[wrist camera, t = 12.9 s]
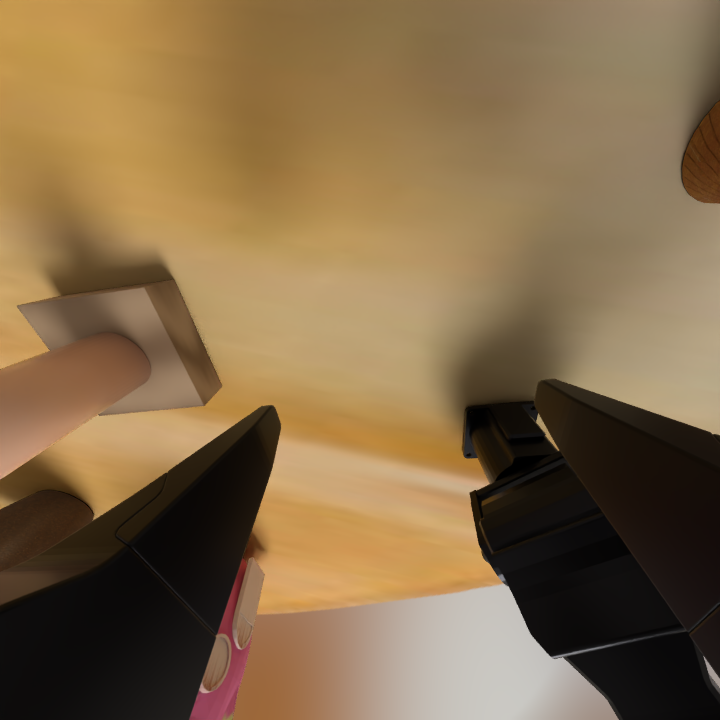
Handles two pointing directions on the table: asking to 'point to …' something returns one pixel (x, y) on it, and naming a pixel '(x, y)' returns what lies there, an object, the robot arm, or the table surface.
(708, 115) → the disposable coffee cup
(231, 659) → the pink dragon fruit
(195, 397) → the base
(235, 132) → the table surface
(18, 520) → the plant pot
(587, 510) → the robot arm
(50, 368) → the pillar
